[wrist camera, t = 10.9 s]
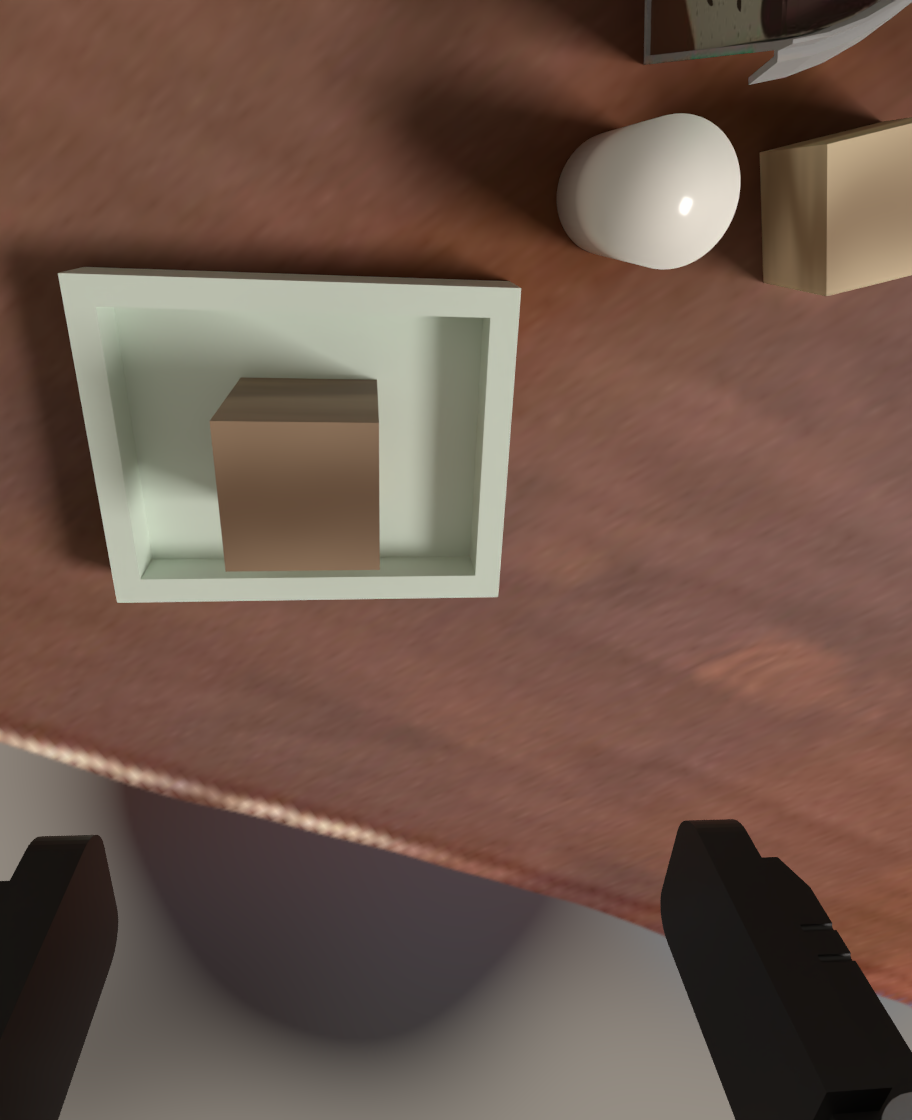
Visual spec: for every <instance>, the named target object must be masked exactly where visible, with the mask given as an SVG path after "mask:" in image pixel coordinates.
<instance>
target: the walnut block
mask: <svg viewBox="0 0 912 1120" xmlns="http://www.w3.org/2000/svg"><path fill="white" fill-rule="evenodd" d="M210 430H211V440H212V449H213V459H214V468H215V477H216V487H217V496H218V505H219V515H220V524H221V534H222V543H223V552H224V562H225V571H226V572H238V571H324V570H380V521H379V413H378V391H377V380H364V379H305V378H247V377H241V378H240V379H239V380H238V382H237V383H236V385H235V386H234V387H233V389H232V390H231V392H230V393H229V394H228V396H227V397H226V399H225V400H224V401H223V403H222V404H221V406H220V407H219V408H218V410H217V411H216V413H215V414H214V416H213V417H212V418H211V420H210Z"/></svg>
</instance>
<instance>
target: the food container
mask: <svg viewBox="0 0 912 1120" xmlns="http://www.w3.org/2000/svg"><path fill="white" fill-rule="evenodd" d="M911 2H912V0H645V23H644V65H646V64H655V63H664V62H673V61H682V60H691V59H700V58H709V57H718V56H727V55H735V54H744V53H753V52H762V51H771V50H774V57H773V58H772V59H770V60H769V61H768V62H767V63H766V64H764V65H763V66H762V67H761V68H760V69H758V70H757V71H756V72H755V73H753V74H752V75H751V76H750V77H749V78H748V79H749V85H751V84H755V83H760V82H765V81H770V80H775V79H780V78H784V77H787V76H790V75H792V74H795V73H798V72H800V71H803V70H805V69H808V68H811V67H813V66H816V65H818V64H821V63H823V62H825V61H827V60H829V59H830V58H832V57H834V56H835V55H837V54H839V53H841V52H842V51H844V50H846V49H848V48H849V47H851V46H853V45H854V44H856V43H858V42H860V41H861V40H862V39H864V38H865V37H866V36H868V35H869V34H870V33H872V32H873V31H874V30H876V29H877V28H879V27H880V26H881V25H883V24H884V23H885V22H887V21H888V20H889V19H891V18H892V17H893V16H894V15H896V14H897V13H898V12H900V11H901V10H902V9H903V8H905V7H906V6H907V5H909V4H910V3H911Z"/></svg>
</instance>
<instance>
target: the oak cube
mask: <svg viewBox="0 0 912 1120" xmlns="http://www.w3.org/2000/svg"><path fill="white" fill-rule="evenodd" d="M760 183H761V217H762V251H763V283H767V284H771V285H776V286H781V287H786V288H790V289H795V290H800V291H804V292H809V293H814V294H818V295H823V296H829V295H834V294H838V293H842V292H846V291H850V290H854V289H858V288H862V287H866V286H870V285H874V284H878V283H882V282H886V281H890V280H894V279H898V278H902V277H906V276H910V275H912V117H911V118H904V119H897V120H891V121H884V122H879V123H875V124H871V125H867V126H863V127H859V128H855V129H851V130H847V131H843V132H839V133H835V134H831V135H827V136H823V137H819V138H815V139H811V140H807V141H803V142H799V143H795V144H791V145H787V146H783V147H779V148H775V149H771V150H767V151H763V152H760Z"/></svg>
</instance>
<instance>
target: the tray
mask: <svg viewBox="0 0 912 1120" xmlns="http://www.w3.org/2000/svg"><path fill="white" fill-rule="evenodd" d="M58 277H59V283H60V288H61V294H62V299H63V305H64V310H65V316H66V321H67V327H68V333H69V338H70V344H71V349H72V355H73V360H74V366H75V371H76V377H77V382H78V388H79V394H80V399H81V405H82V410H83V416H84V421H85V427H86V432H87V438H88V444H89V449H90V455H91V460H92V466H93V471H94V477H95V482H96V488H97V494H98V499H99V505H100V510H101V516H102V521H103V527H104V532H105V538H106V543H107V549H108V555H109V560H110V566H111V571H112V577H113V582H114V588H115V593H116V599H117V603H132V602H199V601H265V600H332V599H398V598H465V597H498V592H499V578H500V565H501V552H502V538H503V525H504V511H505V498H506V485H507V471H508V458H509V445H510V431H511V418H512V404H513V391H514V378H515V364H516V351H517V337H518V324H519V311H520V297H521V288H520V287H518V286H517V285H515V284H513V283H512V282H510V281H490V280H460V279H430V278H401V277H371V276H341V275H312V274H282V273H252V272H223V271H193V270H163V269H134V268H104V267H81V268H77V269H73V270H68V271H64V272H60V273H58ZM241 377H247V378H305V379H364V380H377V391H378V413H379V521H380V570H324V571H238V572H226V571H225V562H224V552H223V543H222V534H221V524H220V515H219V505H218V496H217V487H216V477H215V468H214V459H213V449H212V440H211V430H210V420H211V418H212V417H213V416H214V414H215V413H216V411H217V410H218V408H219V407H220V406H221V404H222V403H223V401H224V400H225V399H226V397H227V396H228V394H229V393H230V392H231V390H232V389H233V387H234V386H235V385H236V383H237V382H238V380H239V379H240V378H241Z"/></svg>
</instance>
